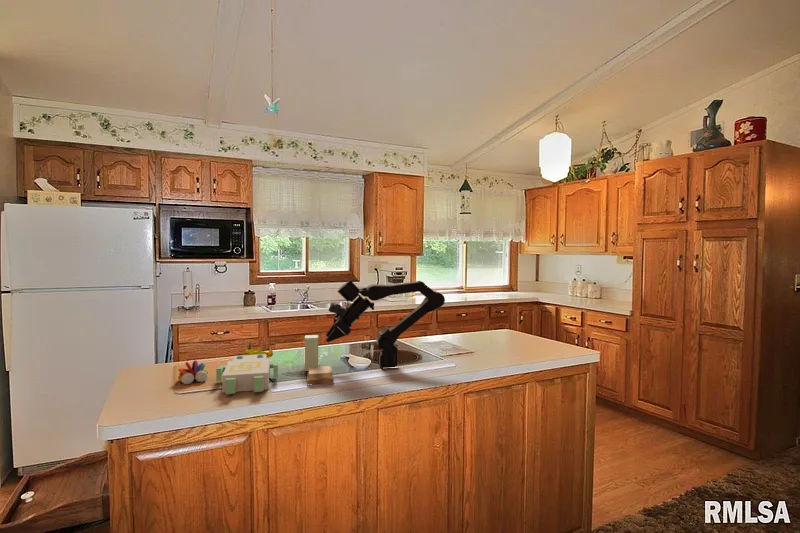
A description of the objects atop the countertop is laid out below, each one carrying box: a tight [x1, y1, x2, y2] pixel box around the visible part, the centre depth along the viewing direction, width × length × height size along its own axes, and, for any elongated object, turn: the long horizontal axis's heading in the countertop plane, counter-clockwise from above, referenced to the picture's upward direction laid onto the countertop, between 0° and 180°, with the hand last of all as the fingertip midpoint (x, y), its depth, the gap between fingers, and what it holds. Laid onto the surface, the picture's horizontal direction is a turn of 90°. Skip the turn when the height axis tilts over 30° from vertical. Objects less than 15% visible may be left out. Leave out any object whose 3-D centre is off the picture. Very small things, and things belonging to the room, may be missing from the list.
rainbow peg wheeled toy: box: [177, 359, 209, 385], centre depth 153 cm, size 8×10×7 cm
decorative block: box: [215, 354, 279, 395], centre depth 151 cm, size 26×6×20 cm
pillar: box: [304, 334, 319, 372], centre depth 166 cm, size 5×5×13 cm
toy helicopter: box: [243, 342, 274, 359], centre depth 168 cm, size 6×18×10 cm, turn 155°
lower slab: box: [306, 372, 334, 386], centre depth 155 cm, size 9×9×2 cm
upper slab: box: [308, 365, 333, 380], centre depth 155 cm, size 8×8×2 cm
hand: (326, 338), depth 167 cm, fingers open, 9 cm apart
